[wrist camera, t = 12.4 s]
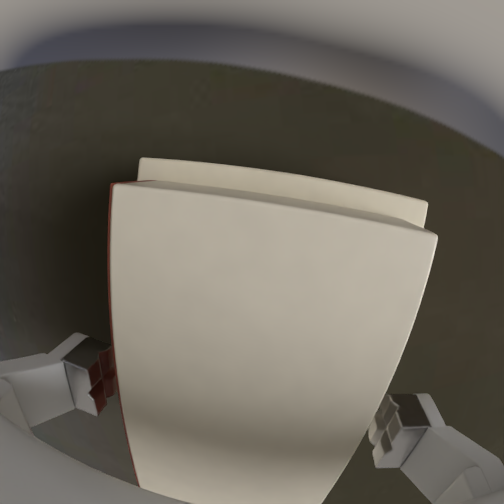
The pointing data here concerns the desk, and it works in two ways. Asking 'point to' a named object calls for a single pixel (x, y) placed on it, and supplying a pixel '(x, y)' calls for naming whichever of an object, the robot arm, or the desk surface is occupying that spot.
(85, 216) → the desk surface
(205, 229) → the cream book
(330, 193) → the cream pile
